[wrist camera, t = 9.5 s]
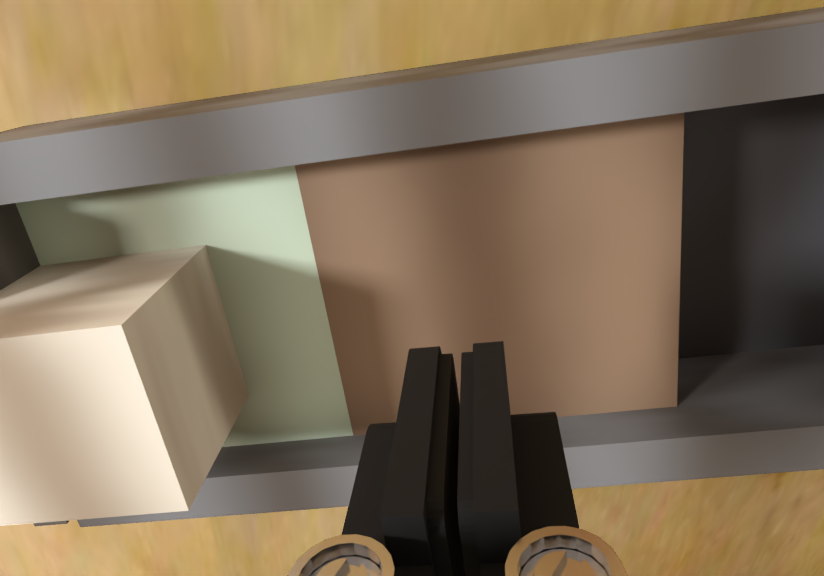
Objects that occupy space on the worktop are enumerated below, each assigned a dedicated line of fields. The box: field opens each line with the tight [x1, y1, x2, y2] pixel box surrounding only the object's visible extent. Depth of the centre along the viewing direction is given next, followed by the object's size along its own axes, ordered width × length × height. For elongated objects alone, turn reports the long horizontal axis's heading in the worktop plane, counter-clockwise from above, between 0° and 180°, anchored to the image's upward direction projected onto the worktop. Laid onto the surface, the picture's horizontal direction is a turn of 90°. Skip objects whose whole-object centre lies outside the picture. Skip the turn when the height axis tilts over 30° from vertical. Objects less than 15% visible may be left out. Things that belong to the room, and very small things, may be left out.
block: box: [0, 245, 249, 526], centre depth 17 cm, size 5×5×5 cm
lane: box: [0, 7, 824, 527], centre depth 18 cm, size 26×12×6 cm, turn 98°
